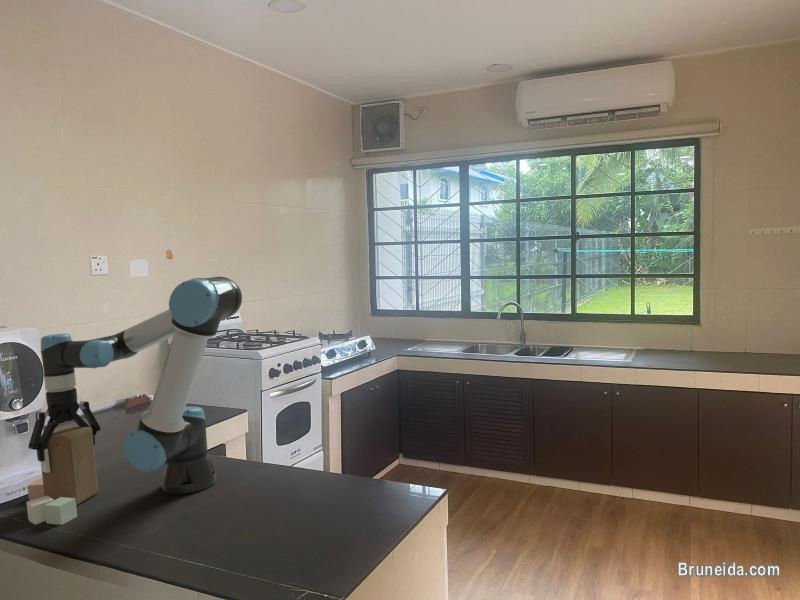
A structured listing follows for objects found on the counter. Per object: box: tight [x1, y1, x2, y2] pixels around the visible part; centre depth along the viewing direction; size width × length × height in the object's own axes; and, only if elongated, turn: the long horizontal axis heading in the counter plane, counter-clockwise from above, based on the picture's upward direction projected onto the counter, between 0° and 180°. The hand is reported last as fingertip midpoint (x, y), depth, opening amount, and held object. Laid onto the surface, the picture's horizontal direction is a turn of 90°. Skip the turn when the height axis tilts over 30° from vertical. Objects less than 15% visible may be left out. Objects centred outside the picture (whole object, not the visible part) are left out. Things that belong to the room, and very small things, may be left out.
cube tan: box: [27, 478, 44, 501], centre depth 173 cm, size 5×5×5 cm
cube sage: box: [45, 497, 78, 526], centre depth 157 cm, size 5×5×5 cm
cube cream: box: [26, 496, 54, 525], centre depth 159 cm, size 5×5×5 cm
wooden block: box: [40, 426, 99, 506], centre depth 170 cm, size 10×10×20 cm
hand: (68, 464), depth 170 cm, fingers closed on wooden block, 12 cm apart
